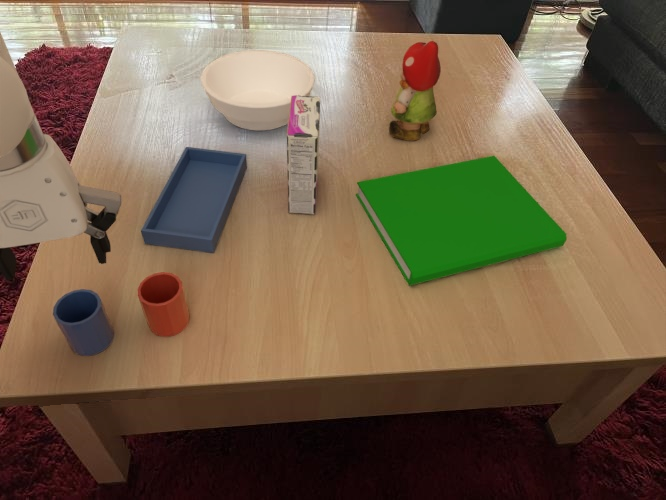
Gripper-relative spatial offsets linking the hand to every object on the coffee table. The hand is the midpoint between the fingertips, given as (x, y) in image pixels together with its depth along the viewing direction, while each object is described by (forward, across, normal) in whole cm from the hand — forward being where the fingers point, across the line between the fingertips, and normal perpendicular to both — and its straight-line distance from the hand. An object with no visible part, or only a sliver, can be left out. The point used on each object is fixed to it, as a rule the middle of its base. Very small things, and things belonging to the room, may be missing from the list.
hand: (58, 262), depth 60 cm
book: (+16, +59, +9) cm, 61 cm away
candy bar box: (+16, +35, +22) cm, 44 cm away
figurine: (+16, +61, +36) cm, 73 cm away
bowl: (+16, +33, +49) cm, 61 cm away
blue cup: (+15, 0, -1) cm, 15 cm away
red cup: (+15, +10, 0) cm, 18 cm away
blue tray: (+15, +17, +24) cm, 33 cm away
